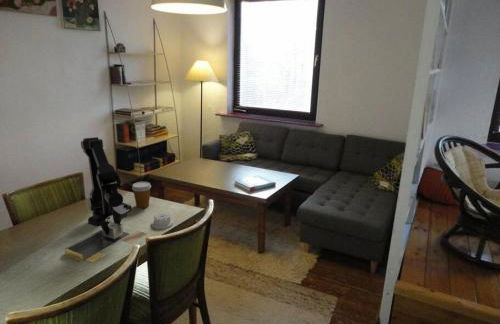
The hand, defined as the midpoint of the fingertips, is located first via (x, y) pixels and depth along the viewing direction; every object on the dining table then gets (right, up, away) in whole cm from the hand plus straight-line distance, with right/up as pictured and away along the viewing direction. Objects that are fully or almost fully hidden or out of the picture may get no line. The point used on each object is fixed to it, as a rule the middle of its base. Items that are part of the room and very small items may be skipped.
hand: (112, 232), depth 152 cm
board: (+9, -2, +1) cm, 9 cm away
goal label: (-1, -7, -15) cm, 17 cm away
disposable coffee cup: (+3, +7, +33) cm, 34 cm away
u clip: (0, -1, 0) cm, 1 cm away
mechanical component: (+18, +1, +14) cm, 23 cm away
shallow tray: (-4, -4, -5) cm, 8 cm away
